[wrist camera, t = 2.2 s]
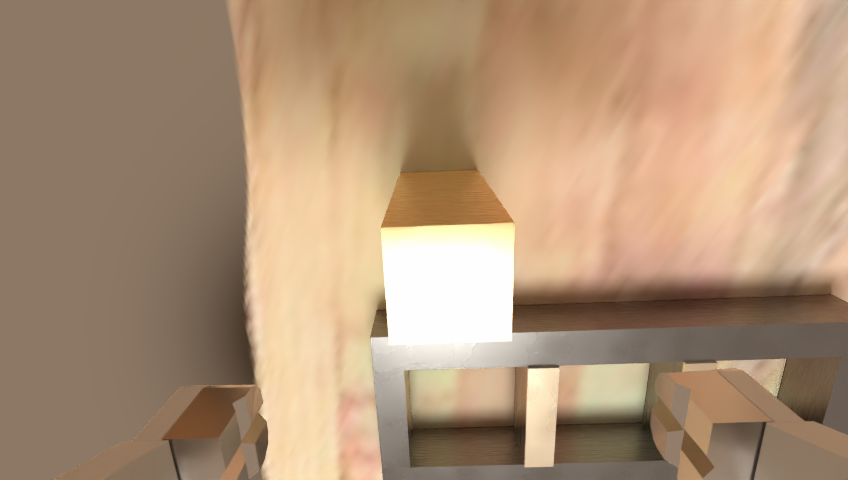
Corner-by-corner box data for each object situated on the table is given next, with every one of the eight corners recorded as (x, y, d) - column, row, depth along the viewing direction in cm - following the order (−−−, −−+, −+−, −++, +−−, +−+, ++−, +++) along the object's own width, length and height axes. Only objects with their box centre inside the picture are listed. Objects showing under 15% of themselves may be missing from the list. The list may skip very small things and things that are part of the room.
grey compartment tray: (376, 310, 25) (369, 339, 22) (831, 294, 25) (889, 322, 21) (388, 455, 28) (384, 498, 25) (791, 444, 28) (836, 486, 25)
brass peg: (400, 172, 23) (380, 227, 13) (477, 169, 23) (514, 222, 13) (404, 246, 24) (389, 344, 14) (478, 243, 24) (511, 340, 14)
